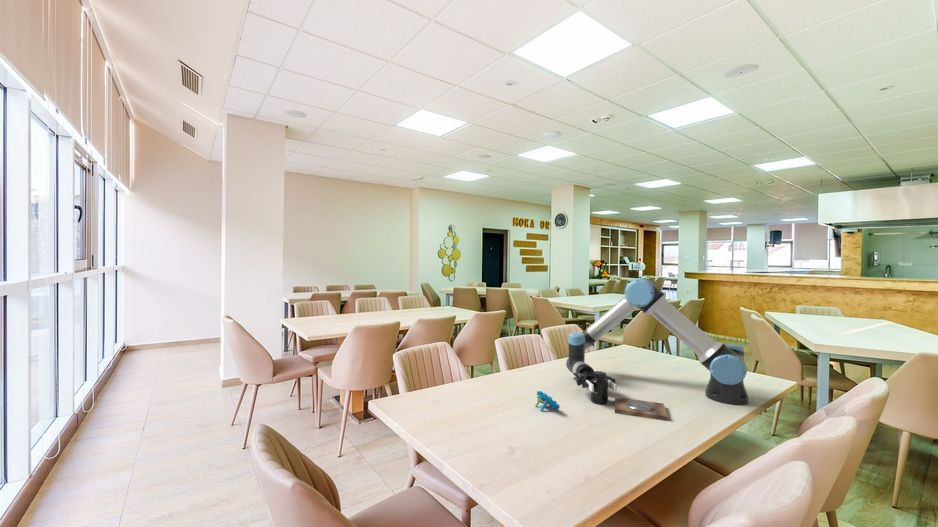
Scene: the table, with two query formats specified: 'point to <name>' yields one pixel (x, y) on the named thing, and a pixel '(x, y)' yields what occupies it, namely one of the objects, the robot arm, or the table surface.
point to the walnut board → (640, 408)
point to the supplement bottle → (599, 388)
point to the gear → (546, 401)
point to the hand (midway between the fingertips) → (604, 388)
